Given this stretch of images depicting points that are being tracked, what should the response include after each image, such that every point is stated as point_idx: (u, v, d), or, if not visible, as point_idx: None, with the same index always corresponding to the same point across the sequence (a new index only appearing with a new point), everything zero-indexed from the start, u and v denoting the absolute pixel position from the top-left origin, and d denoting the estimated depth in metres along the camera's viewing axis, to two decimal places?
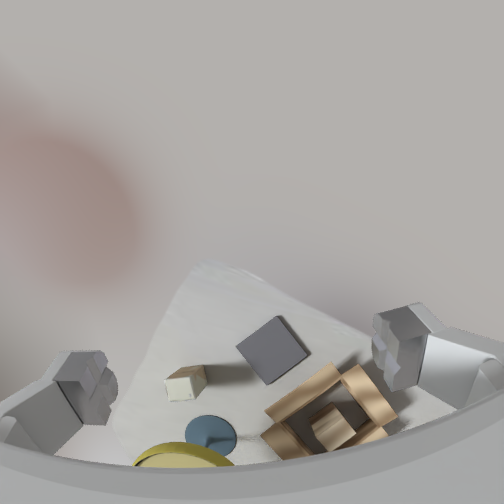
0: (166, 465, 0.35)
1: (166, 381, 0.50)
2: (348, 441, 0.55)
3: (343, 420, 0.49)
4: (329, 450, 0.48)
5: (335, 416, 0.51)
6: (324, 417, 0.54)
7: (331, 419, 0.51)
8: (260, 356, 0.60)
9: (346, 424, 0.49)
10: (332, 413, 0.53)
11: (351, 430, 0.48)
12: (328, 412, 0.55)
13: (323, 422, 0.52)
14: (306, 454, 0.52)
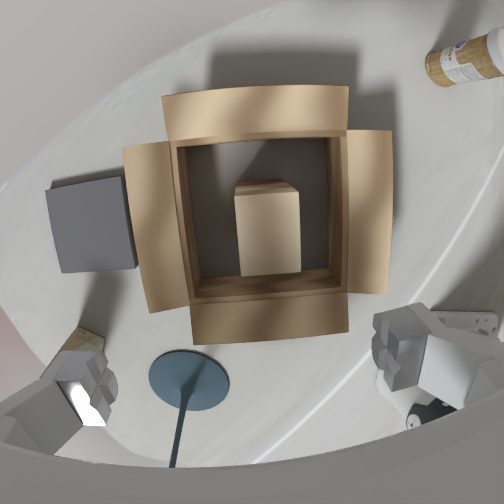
0: None
1: None
2: (334, 204, 0.30)
3: (241, 199, 0.22)
4: (295, 269, 0.24)
5: None
6: None
7: None
8: (87, 249, 0.32)
9: (257, 199, 0.22)
10: None
11: (282, 197, 0.22)
12: None
13: None
14: (292, 295, 0.30)
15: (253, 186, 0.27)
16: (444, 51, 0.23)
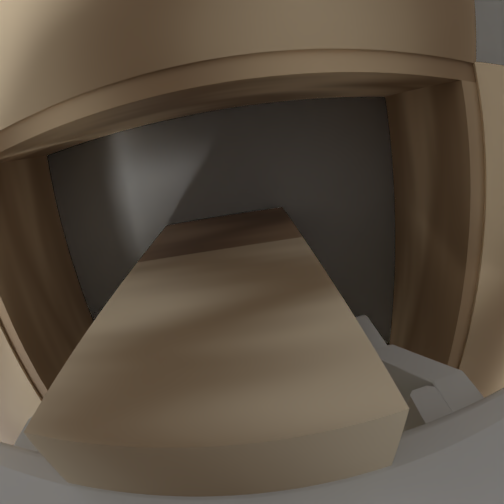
0: None
1: None
2: (421, 270, 0.11)
3: (61, 452, 0.03)
4: None
5: None
6: None
7: None
8: None
9: (137, 462, 0.03)
10: None
11: (296, 454, 0.03)
12: None
13: None
14: None
15: (182, 269, 0.07)
16: None
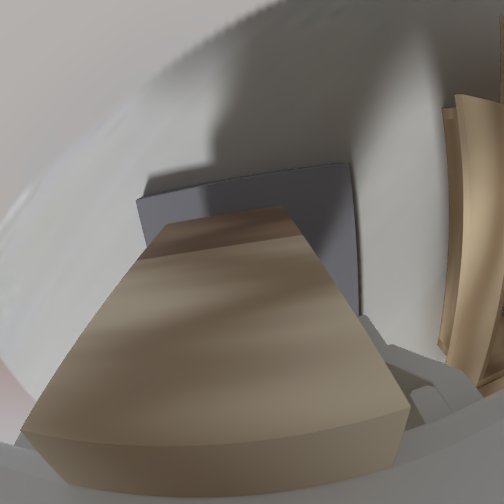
0: None
1: None
2: None
3: (57, 450, 0.03)
4: None
5: None
6: None
7: None
8: None
9: (135, 461, 0.03)
10: None
11: (295, 453, 0.03)
12: None
13: None
14: None
15: (182, 267, 0.07)
16: None
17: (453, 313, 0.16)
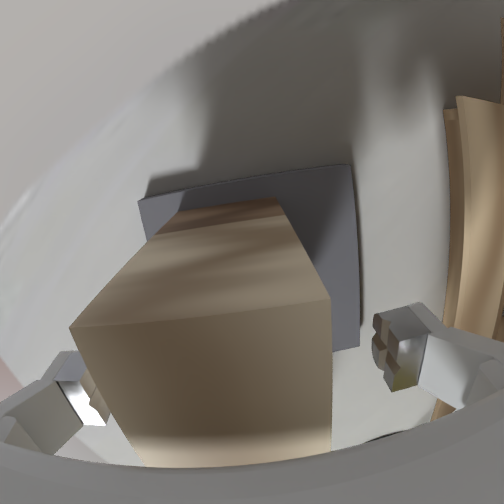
0: None
1: None
2: None
3: (95, 340, 0.05)
4: None
5: None
6: None
7: None
8: None
9: (150, 339, 0.05)
10: None
11: (255, 328, 0.05)
12: None
13: None
14: None
15: (190, 237, 0.10)
16: None
17: (453, 313, 0.16)
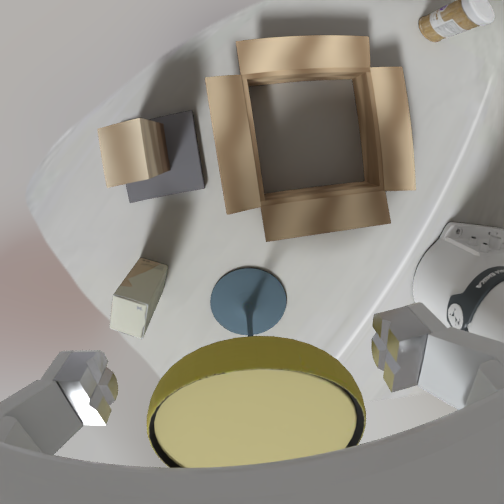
0: (180, 433, 0.22)
1: (111, 326, 0.33)
2: (365, 125, 0.35)
3: (102, 130, 0.26)
4: (144, 177, 0.28)
5: None
6: None
7: None
8: (157, 176, 0.38)
9: (112, 128, 0.26)
10: None
11: (128, 123, 0.26)
12: None
13: None
14: (343, 193, 0.36)
15: None
16: (432, 14, 0.28)
17: None
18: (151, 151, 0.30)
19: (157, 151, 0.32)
